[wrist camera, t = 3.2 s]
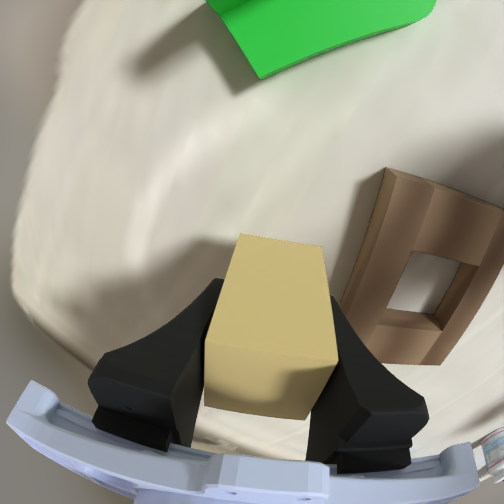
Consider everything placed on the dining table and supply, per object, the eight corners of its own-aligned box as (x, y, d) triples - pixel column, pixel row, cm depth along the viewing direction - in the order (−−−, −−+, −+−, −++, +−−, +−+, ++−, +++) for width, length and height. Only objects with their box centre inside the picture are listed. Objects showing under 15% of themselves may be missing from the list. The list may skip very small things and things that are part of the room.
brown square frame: (507, 211, 15) (521, 222, 14) (433, 349, 22) (440, 365, 21) (386, 167, 16) (397, 176, 14) (325, 339, 23) (326, 358, 21)
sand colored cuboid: (321, 247, 14) (338, 360, 8) (303, 309, 16) (304, 420, 10) (240, 233, 14) (204, 341, 8) (232, 297, 16) (204, 405, 10)
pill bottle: (502, 432, 34) (513, 474, 25) (478, 445, 36) (488, 487, 27) (508, 422, 32) (521, 467, 22) (482, 436, 34) (494, 482, 24)
